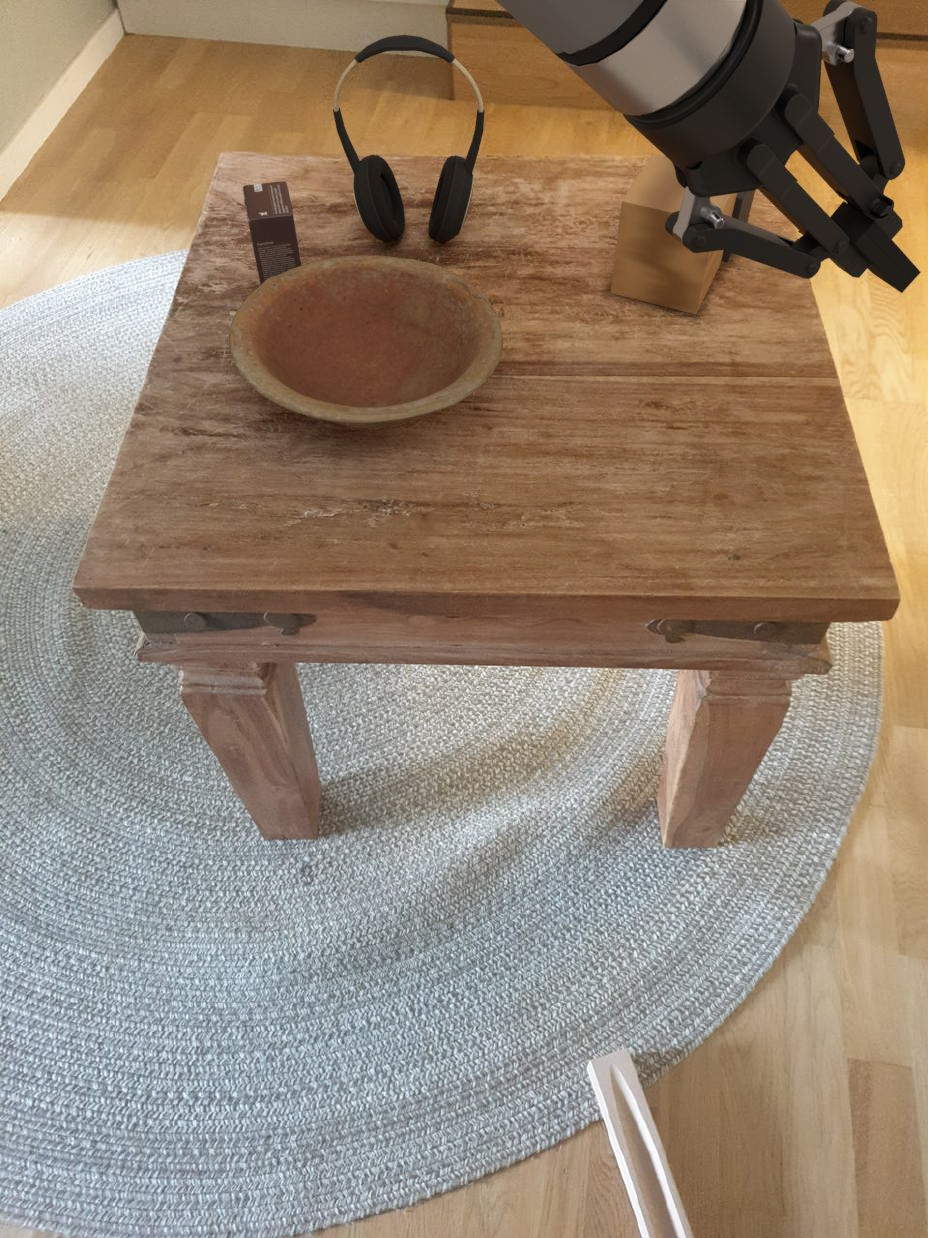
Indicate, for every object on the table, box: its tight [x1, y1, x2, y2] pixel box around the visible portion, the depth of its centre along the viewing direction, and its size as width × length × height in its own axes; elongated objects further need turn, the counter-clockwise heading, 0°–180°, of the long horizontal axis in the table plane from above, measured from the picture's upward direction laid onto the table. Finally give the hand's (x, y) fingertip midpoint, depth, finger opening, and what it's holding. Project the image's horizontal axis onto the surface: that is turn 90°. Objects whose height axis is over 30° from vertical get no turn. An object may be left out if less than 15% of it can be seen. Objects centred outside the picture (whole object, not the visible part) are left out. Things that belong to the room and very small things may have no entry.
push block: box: [609, 153, 737, 315], centre depth 91 cm, size 9×9×10 cm
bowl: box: [228, 255, 504, 429], centre depth 83 cm, size 24×24×8 cm
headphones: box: [332, 34, 486, 245], centre depth 92 cm, size 9×15×20 cm, turn 87°
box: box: [242, 180, 302, 286], centre depth 89 cm, size 6×4×12 cm
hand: (895, 272), depth 57 cm, fingers closed
